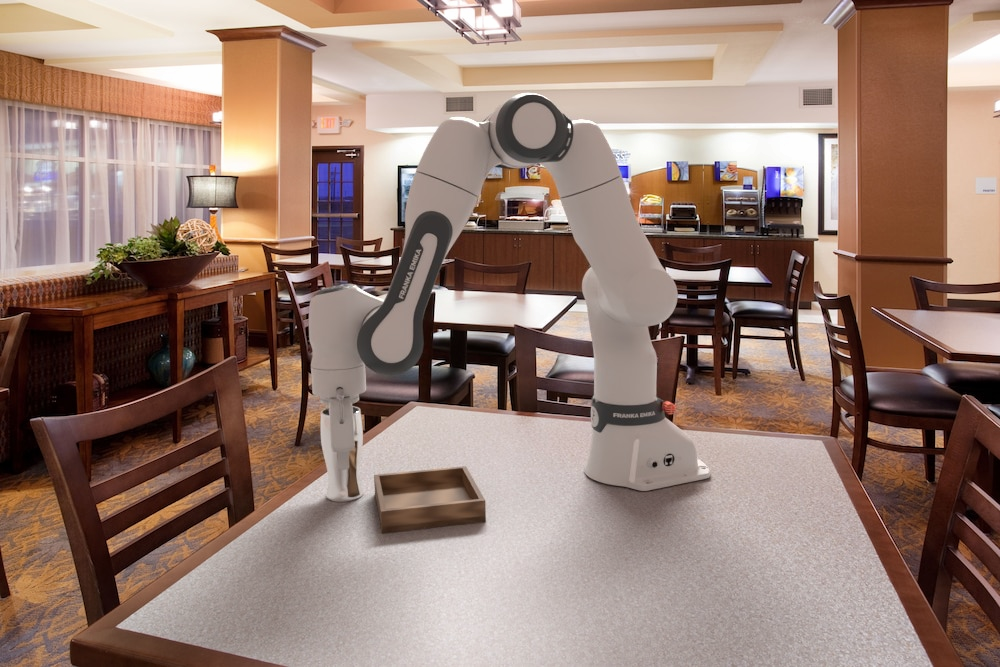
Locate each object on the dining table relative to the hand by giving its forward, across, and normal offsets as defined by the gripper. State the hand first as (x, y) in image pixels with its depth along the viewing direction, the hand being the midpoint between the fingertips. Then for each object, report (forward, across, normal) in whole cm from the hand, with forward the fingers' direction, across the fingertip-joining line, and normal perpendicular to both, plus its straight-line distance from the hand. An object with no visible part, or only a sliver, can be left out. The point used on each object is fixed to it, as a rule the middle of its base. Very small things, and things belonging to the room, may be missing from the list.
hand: (343, 460), depth 123 cm
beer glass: (+6, 0, 0) cm, 6 cm away
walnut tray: (+6, -9, -13) cm, 17 cm away
